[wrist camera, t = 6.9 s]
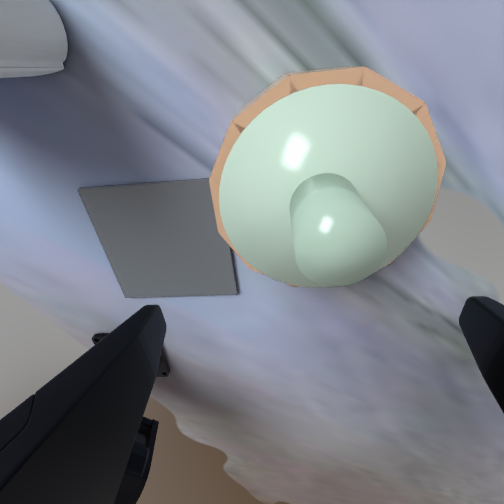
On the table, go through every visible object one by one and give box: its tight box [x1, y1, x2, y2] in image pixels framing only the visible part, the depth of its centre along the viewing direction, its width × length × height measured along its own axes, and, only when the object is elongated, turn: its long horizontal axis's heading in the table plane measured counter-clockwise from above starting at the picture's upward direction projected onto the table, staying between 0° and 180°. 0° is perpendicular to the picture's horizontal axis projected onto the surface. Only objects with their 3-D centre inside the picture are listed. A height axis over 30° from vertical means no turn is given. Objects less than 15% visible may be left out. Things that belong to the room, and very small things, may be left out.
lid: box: [219, 84, 438, 287], centre depth 12 cm, size 10×10×5 cm
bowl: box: [209, 67, 446, 287], centre depth 16 cm, size 11×11×5 cm
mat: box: [78, 178, 238, 298], centre depth 22 cm, size 10×10×1 cm
